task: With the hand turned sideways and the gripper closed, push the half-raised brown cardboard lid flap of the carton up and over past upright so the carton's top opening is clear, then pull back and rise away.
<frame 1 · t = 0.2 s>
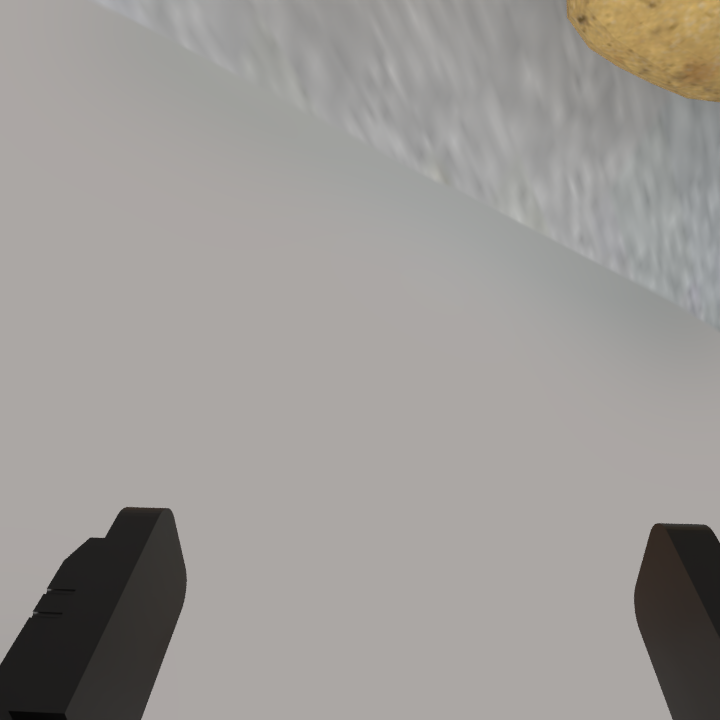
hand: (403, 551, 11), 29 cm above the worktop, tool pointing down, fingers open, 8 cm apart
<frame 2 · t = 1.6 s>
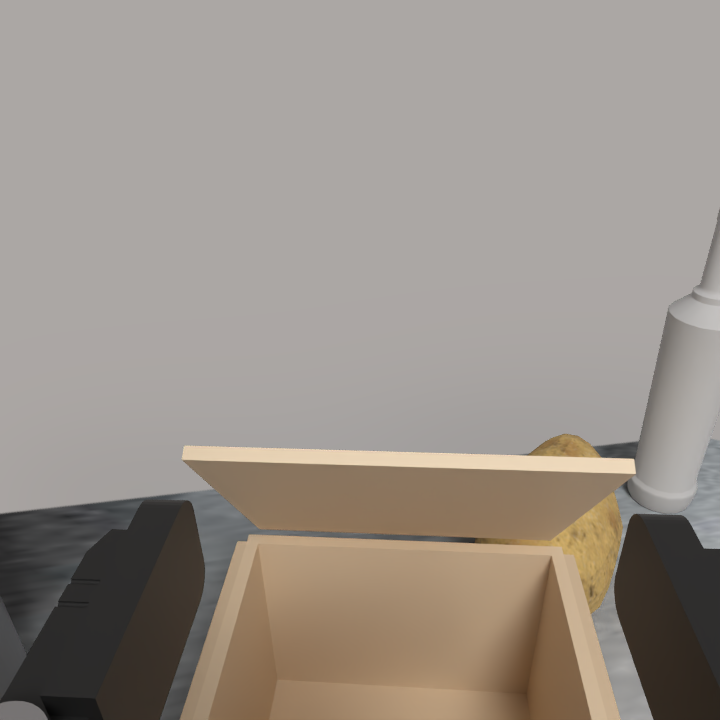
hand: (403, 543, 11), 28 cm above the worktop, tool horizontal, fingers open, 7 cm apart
bottle: (657, 495, 53), on the worktop
carton flap: (402, 502, 27), point 18 cm above the worktop, hinge at 55.0°
potato: (547, 572, 46), on the worktop
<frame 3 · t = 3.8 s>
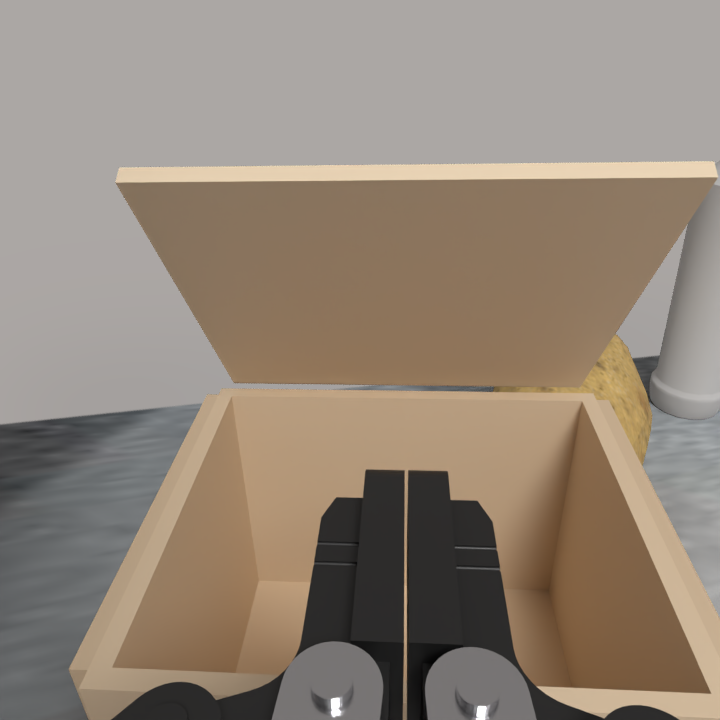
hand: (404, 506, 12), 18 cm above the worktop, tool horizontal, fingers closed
carton: (400, 714, 27), on the worktop
bottle: (682, 403, 48), on the worktop
carton flap: (405, 304, 22), point 18 cm above the worktop, hinge at 55.0°
potato: (565, 476, 41), on the worktop
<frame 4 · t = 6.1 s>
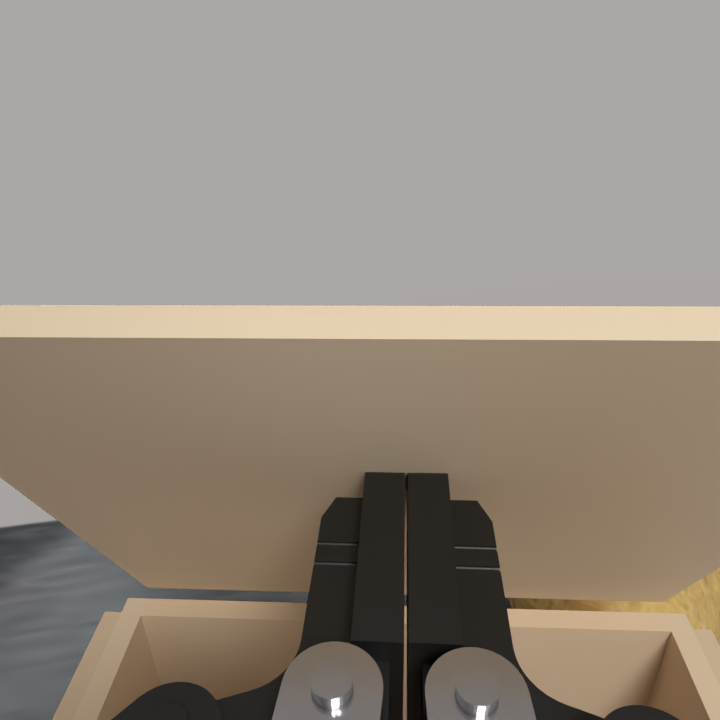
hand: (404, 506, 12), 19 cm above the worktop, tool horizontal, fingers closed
carton flap: (403, 508, 13), point 18 cm above the worktop, hinge at 62.2°, touching gripper
potato: (606, 625, 32), on the worktop
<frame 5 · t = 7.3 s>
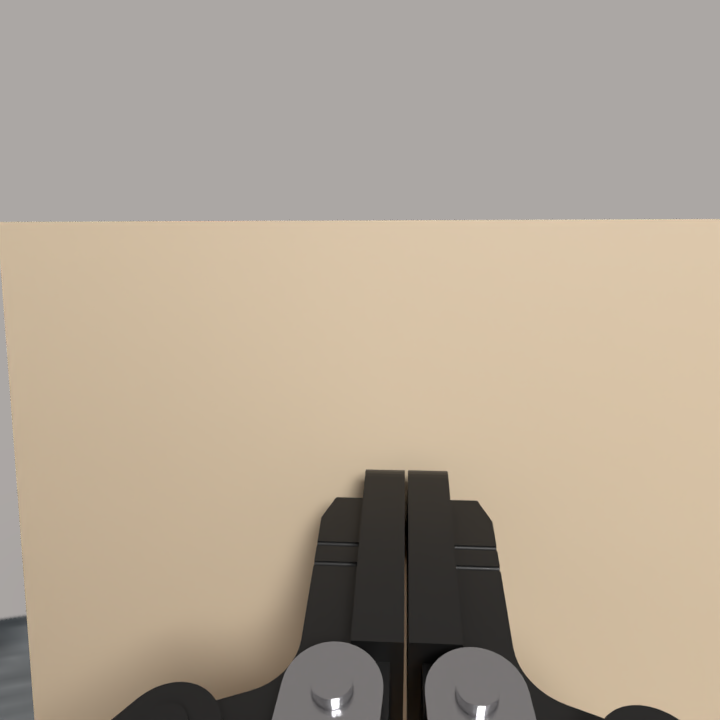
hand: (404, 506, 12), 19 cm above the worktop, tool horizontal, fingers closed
carton flap: (403, 563, 12), point 18 cm above the worktop, hinge at 110.6°, touching gripper
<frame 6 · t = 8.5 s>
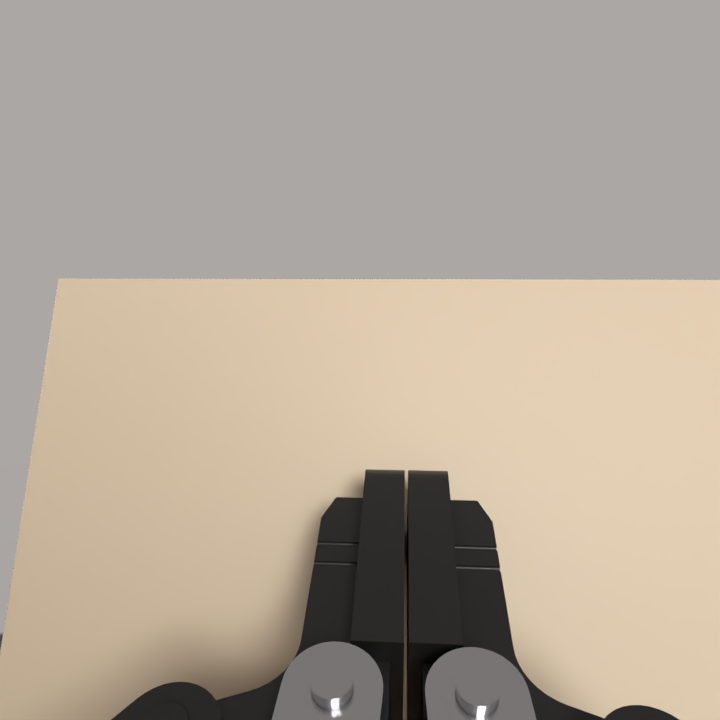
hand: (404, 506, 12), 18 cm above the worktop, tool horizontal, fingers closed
carton flap: (398, 605, 12), point 17 cm above the worktop, hinge at 134.6°, touching gripper
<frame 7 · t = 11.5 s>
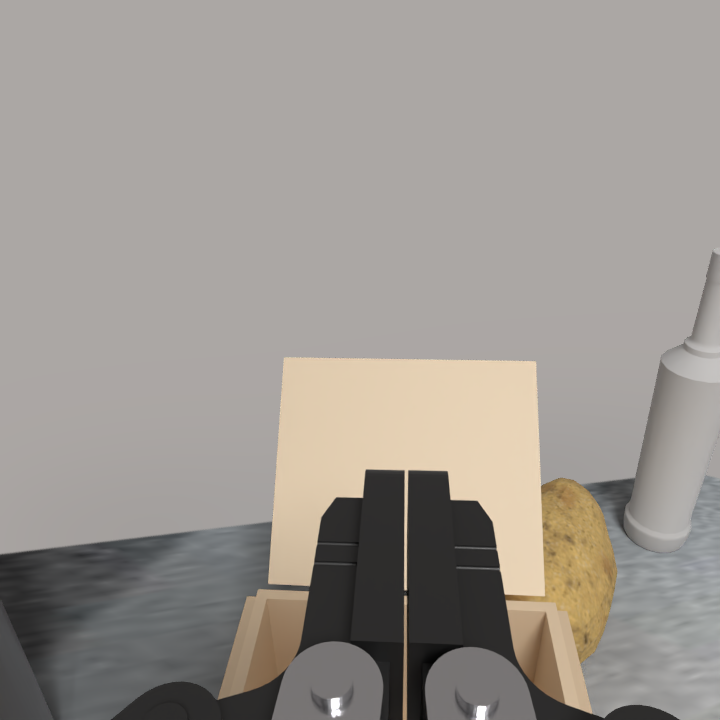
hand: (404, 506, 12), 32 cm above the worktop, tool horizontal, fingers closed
bottle: (653, 534, 54), on the worktop
carton flap: (406, 469, 36), point 17 cm above the worktop, hinge at 134.8°
potato: (545, 613, 47), on the worktop
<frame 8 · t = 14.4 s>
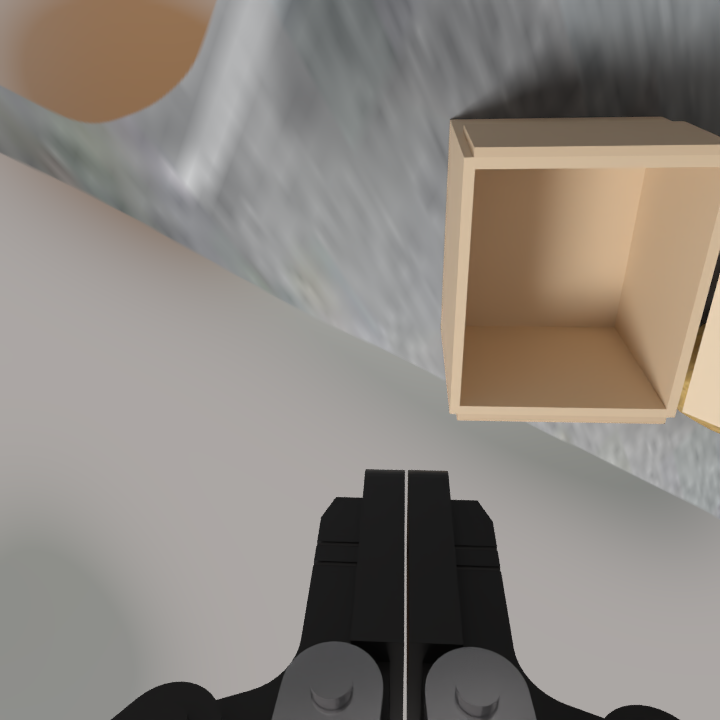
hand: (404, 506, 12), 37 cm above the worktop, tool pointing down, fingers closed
carton: (540, 232, 47), on the worktop
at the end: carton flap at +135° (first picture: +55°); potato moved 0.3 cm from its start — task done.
